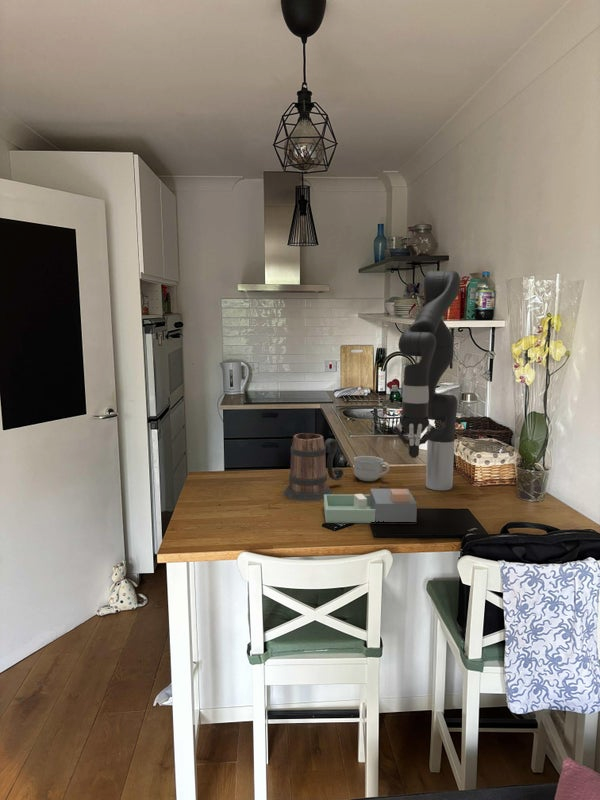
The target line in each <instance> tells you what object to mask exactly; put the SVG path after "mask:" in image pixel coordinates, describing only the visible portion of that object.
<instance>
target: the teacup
mask: <svg viewBox="0 0 600 800" xmlns="http://www.w3.org/2000/svg"><path fill="white" fill-rule="evenodd" d="M384 466H385V467H386V468H385V470H384V471H383V467H384ZM389 471H390V464H389V463H388V462H387V461H384V459H383V458H381V457H379V456H374V455H373V456H371V455H361V456H355V457H353V473H354V475H355V477H357V478H358V479H359V480H360V481H364V482H374V481H375V482H376V481H377V480H379V478H381V477H383V475H385V474H387V473H389Z"/></svg>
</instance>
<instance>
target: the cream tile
mask: <svg viewBox="0 0 600 800" xmlns="http://www.w3.org/2000/svg"><path fill="white" fill-rule="evenodd" d="M353 495H354V509H367V498H366V497H365V496H364V495H365V494H363V493H354V494H353Z"/></svg>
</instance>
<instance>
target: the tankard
mask: <svg viewBox="0 0 600 800" xmlns="http://www.w3.org/2000/svg"><path fill="white" fill-rule="evenodd" d="M292 437H293V438H292V444H291V446H290V469H289V472H290V473H289V476H288V477H289V478H288V480H289V484H288V486H287V487H286V488H285V490H284V491H283V492H282V493H283V496H285V497H286V498H288V499H290V500H294V501H301V502H318V501H322V500H323V501H324V494H327V495H333V492H332V490H331V489H330V487H329V486H328V484H327V480H328V477H329V478H330V479H332V480H333V481H340V480H341V479H342V478H343V475H344V470H343V468H340V467H333V461H334V459H335V458H334V457H335V455H336V453H337V450H338V441H337V440H336V439H334V438H327V439H325V441H324V436H323V435H321V434H319V433H318V434H317V433H307V432H306V433H305V432H300V433H297V434H294V435H293V436H292ZM326 453H328V456H327V460H326ZM326 468H327V470H326ZM333 468H334V469H333ZM327 474H328V475H327ZM335 475H336V476H335ZM327 476H328V477H327Z"/></svg>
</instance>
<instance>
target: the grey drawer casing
mask: <svg viewBox="0 0 600 800" xmlns="http://www.w3.org/2000/svg"><path fill="white" fill-rule="evenodd" d="M390 489H391V488H370V490H369V491H370V493H369V495H370V508H371V509H375V521H376V522H378V521H379V522H383V521H384V522H416V523H417V513H418V512H417V511H418V503H417V502H416V500H415V498H414V496H413V495H412V493H411V491H410V489H409V488H406V489H407V490H408V492H409V494H410V503H393V502H392V500H391V498H390ZM376 522H375V523H376Z"/></svg>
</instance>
